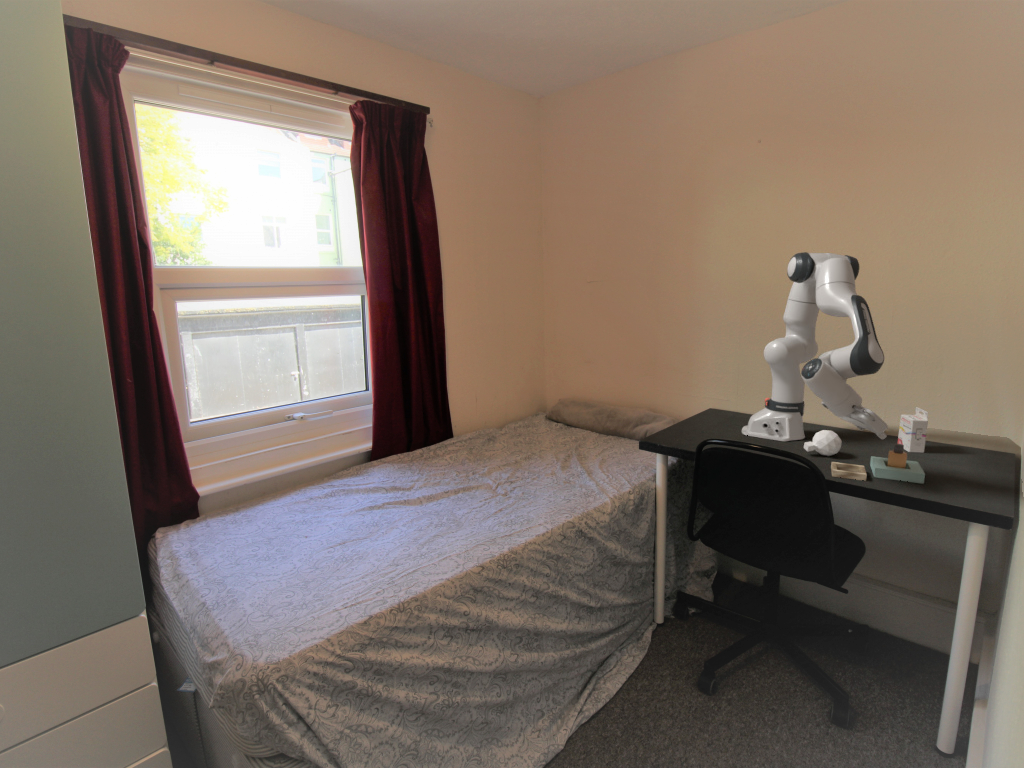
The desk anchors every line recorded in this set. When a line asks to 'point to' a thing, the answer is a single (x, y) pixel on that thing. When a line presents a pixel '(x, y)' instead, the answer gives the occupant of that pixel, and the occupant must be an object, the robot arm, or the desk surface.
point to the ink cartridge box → (913, 431)
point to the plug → (897, 457)
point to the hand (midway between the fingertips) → (873, 433)
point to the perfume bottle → (824, 443)
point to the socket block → (897, 470)
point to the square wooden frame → (848, 471)
